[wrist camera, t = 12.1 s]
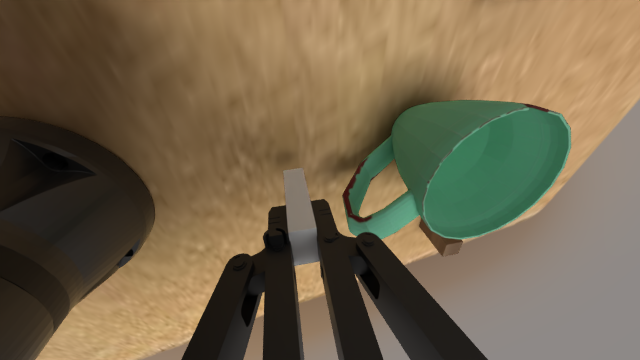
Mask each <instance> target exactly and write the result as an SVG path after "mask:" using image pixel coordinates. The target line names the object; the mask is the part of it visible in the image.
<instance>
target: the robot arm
mask: <svg viewBox="0 0 640 360" xmlns="http://www.w3.org/2000/svg"><path fill="white" fill-rule="evenodd" d="M283 174H284V187H285V199H286V205H285V206H278V207H272V208H271V210H270V211H269V213H268V230H267V231H266V232H265V233H264V236H263V240H264V244H265V248H264V249H263V250H262V251H261V252H259V253H257V254H255V255H253V256H250V255H248V254H244V253H243V254H238V255H236V256H234V257H232V258H231V259H230V260H229V261H228V263H227V264H226V266H225V269H224V271H223V273H222V275H221V277H220V279H219V281H218V283H217V285H216V288H215V290H214V292H213V294H212V296H211V298H210V300H209V302H208V304H207V307H206V309H205V311H204V313H203V315H202V317H201V319H200V321H199V323H198V326H197V328H196V330H195V332H194V334H193V336H192V338H191V340H190V342H189V345H188V347H187V349H186V351H185V353H184V355H183V357H182V360H243V358H244V355H245V352H246V348H247V345H248V341H249V338H250V334H251V330H252V327H253V323H254V320H255V317H256V313H257V310H258V306H259V303H260V299H261V296H262V292H264V291H265V296H264V336H263V360H304V352H303V342H302V333H301V323H300V313H299V303H298V293H297V283H296V273H295V267H294V266H296V265H302V264H307V263H313V262H318V261H320V269H321V278H322V279H323V284H324V289H325V294H326V299H327V304H328V308H329V314H330V319H331V324H332V329H333V334H334V338H335V343H336V348H337V354H338V358H339V360H383V357H382V354H381V351H380V348H379V345H378V342H377V340H376V336H375V334H374V331H373V328H372V325H371V322H370V319H369V316H368V313H367V310H366V307H365V304H364V301H363V298H362V295H361V292H360V289H359V286H358V283H357V280H356V277H355V274H356V276H357V278H358V279H359V281H360V282H361V284H362V285H363V287H364V289H365V290H366V292H367V293H368V295H369V296H370V298H371V299H372V301H373V302H374V304H375V305H376V307H377V309H378V310H379V312H380V313H381V315H382V316H383V318H384V319H385V321H386V323H387V324H388V325H389V327H390V328H391V330H392V332H393V333H394V335H395V336H396V338H397V339H398V341H399V343H400V344H401V346H402V347H403V349H404V350H405V352H406V353H407V355H408V356H409V358H410V359H411V360H488V359H487V358H486V357H485V356H484V355H483V354H482V353H481V351H479V349H478V348H477V347H476V346H475V345H474V344H473V343H472V341H471V340H470V339H469V338H468V337H467V336H466V335H465V333H464V332H463V331H462V330H461V329H460V328H459V327H458V326H457V325H456V323H455V322H454V321H453V320H452V319H451V318H450V317H449V315H447V313H446V312H445V311H444V310H443V309H442V308H441V306H440V305H439V304H438V303H437V302H436V301H435V300H434V299H433V298H432V296H431V295H430V294H429V293H428V292H427V291H426V290H425V288H424V287H423V286H422V285H421V284H420V283H419V282H418V281H417V279H416V278H415V277H414V276H413V275H412V274H411V273H410V272H409V271H408V269H407V268H406V267H405V266H404V265H403V264H402V263H401V261H400V260H399V259H398V258H397V257H396V256H395V255H394V254H393V252H392V251H391V250H390V249H389V248H388V247H387V246H386V245H385V243H384V242H383V241H382V240H381V239H380V238H379V237H378V236H377V235H376V234H374V233H371V232H363V233H360V234H359V235H358V236H357V237H356V238H354V237H347V236H344V235H342V234H340V233H339V232H338V230H337V228H336V224H335V221H334V218H333V215H332V212H331V210H330V206H329V203H328V202H327V201H325V200H324V199H321V200H315V201H310V197H309V193H308V188H307V184H306V179H305V175H304V171H303V168H298V169H290V170H283ZM154 216H155V213H154V206H153V202H152V199H151V197H150V194H149V192H148V190H147V189H146V187H145V185H144V184H143V183H142V181H141V180H140V179H139V177H138V176H137V175H136V174H135V173H134V172H133V171H132V170H131V169H130V168H129V167H128V166H127V165H126V164H125V163H124V162H122V161H121V160H120V159H119V158H117V157H116V156H115V155H113V154H112V153H110V152H109V151H107V150H106V149H104V148H103V147H101V146H99V145H98V144H96V143H94V142H92V141H90V140H88V139H86V138H84V137H82V136H80V135H77V134H75V133H72V132H70V131H67V130H65V129H62V128H59V127H56V126H53V125H49V124H45V123H42V122H37V121H33V120H27V119H21V118H13V117H0V360H35V359H36V358H37V357H38V355H39V354H40V352H41V351H42V349H43V348H44V347H45V345H46V344H47V342H48V341H49V340H50V338H51V337H52V335H53V334H54V333H55V331H56V330H57V328H58V327H59V326H60V324H61V323H62V321H63V320H64V319H65V317H66V316H67V315H68V313H69V312H70V311H71V309H72V308H73V307H74V306H75V305H76V304H78V303H79V302H80V301H81V300H82V299H84V298H85V297H86V296H87V295H88V294H90V293H91V292H92V291H93V290H94V289H96V288H97V287H98V286H99V285H101V284H102V283H103V282H104V281H105V280H107V279H108V278H109V277H110V276H111V275H112V274H114V273H115V272H116V271H117V270H118V269H119V268H120V267H122V266H123V265H125V264H126V263H127V262H128V261H129V260H131V259H132V258H133V257H134V256H135V254H136V253H137V252H138V251H139V250H140V248H141V247H142V245H143V243H144V242H145V240H146V238H147V237H148V235H149V233H150V231H151V229H152V227H153V223H154Z"/></svg>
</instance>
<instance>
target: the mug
mask: <svg viewBox="0 0 640 360" xmlns="http://www.w3.org/2000/svg"><path fill="white" fill-rule="evenodd" d="M570 149H571V128H570V126H569V125H568V123H567V122H566V120H565V119H564V117H563V115H562V114H560V113H557V112H554V111H551V110H548V109H545V108H541V107H538V106H535V105H529V104H523V103H515V102H501V101H484V100H457V101H444V102H431V103H426V104H421V105H417V106H414V107H411V108H408V109H407V110H406V111H404V112H403V113H402V114H401V115H400V116H399V117H398V118H397V119H396V121H395V123H394V125H393V127H392V132H391V136H390V137H388V138H387V139H386V140H385V141H384V142H383V143H382V144H381V145H380V146H378V147H377V148H376V149H375V150H374V151H373V152H372V153H371V154H369V155H368V156H367V157H366V158H365V159H364V160H363V161H362V162H361V163H360V164H359V166H358V168H357V170H356V172H355V173H354V175H353V177H352V179H351V180H350V182H349V184H348V186H347V188H346V189H345V191H344V193H343V195H342V196H343V202H344V207H345V212H346V217H347V222H348V227H349V230H350V232H351V233H352V234H354V235H355V236H358V235H359V234H360V233H363V232H371V233H374V234H376V235H377V236H378V237H379V238H380V239H383V238H385V237H387V236H389V235H391V234H393V233H395V232H397V231H398V230H400V229H401V228H402V227H404V226H405V225H406V224H408V223H409V222H411V221H412V220H413V219H415V218H416V217H418V216H419V215H420V216H421V218H422V219H423V221H424V222H425V224H426V225H427V226H428V228H429V229H430V230H431V231H432V232H434V233H436V234H438V235H440V236H442V237H443V238H451V239H466V238H472V237H479V236H481V235H484V234H487V233H489V232H492V231H495V230H497V229H499V228H501V227H503V226H505V225H506V224H508V223H510V222H512V221H513V220H515V219H517V218H518V217H520V216H521V215H522V214H523V213H525V212H526V211H527V210H528V209H530V208H531V207H532V206H533V205H535V204H536V203H537V202H538V201H539V200H540V199H541V197H542V196H543V195H544V194H545V193H546V192H547V191H548V190H549V189H550V188H551V187H552V185H553V184H554V182H555V181H556V179H557V178H558V176H559V174H560V173H561V171H562V170H563V168H564V166H565V163H566V160H567V158H568V155H569V152H570ZM394 158H395V160H396V164H397V167H398V170H399V173H400V175H401V177H402V179H403V181H404V183H405V184H406V186H407V188H408V191H407V192H405V193H404V194H403V195H401V196H400V197H399V198H397V199H396V200H395V201H393V202H392V203H391V204H389V205H388V206H386V207H385V208H384V209H382V210H380V211H378V212H376V213H374V214H371V215H369V216H367V217H365V218H362V217H360V216H359V214H358V213H359V210H360V207H361V204H362V201H363V199H364V196H365V194H366V192H367V189H368V187H369V184H370V182H371V180H372V179H373V178H374V177H375V176H377V175H378V174H379V173H380V172H381V171H382V170H383V169H384V168H385V167H386V166H387V165H388V164H389V163H390V162H391V161H392V160H393V159H394Z"/></svg>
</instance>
